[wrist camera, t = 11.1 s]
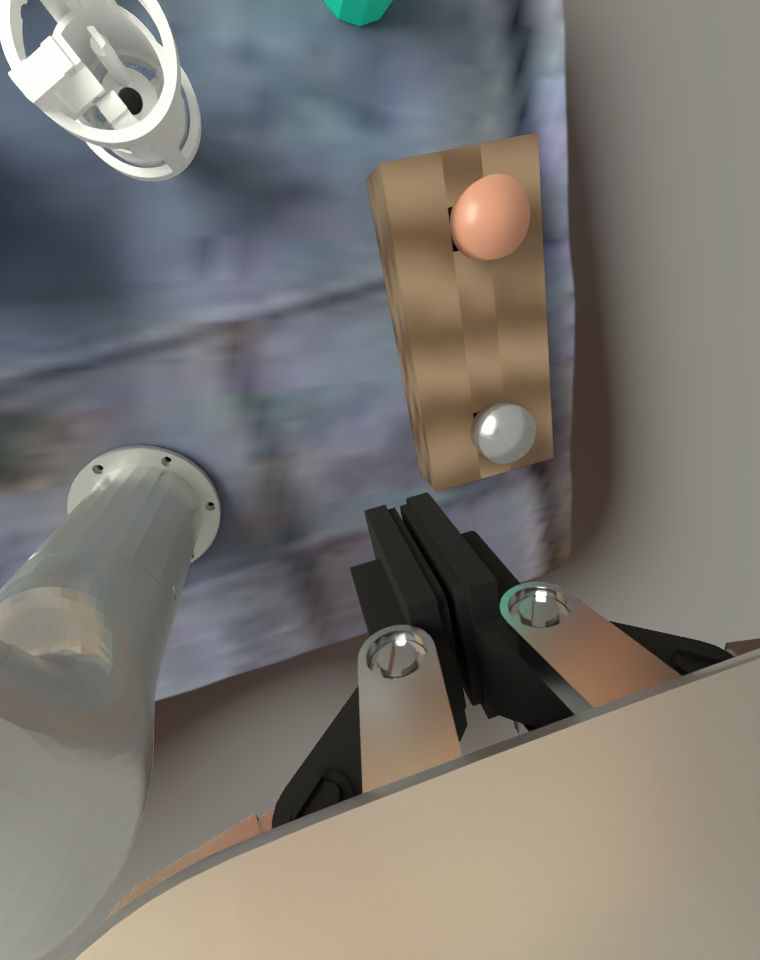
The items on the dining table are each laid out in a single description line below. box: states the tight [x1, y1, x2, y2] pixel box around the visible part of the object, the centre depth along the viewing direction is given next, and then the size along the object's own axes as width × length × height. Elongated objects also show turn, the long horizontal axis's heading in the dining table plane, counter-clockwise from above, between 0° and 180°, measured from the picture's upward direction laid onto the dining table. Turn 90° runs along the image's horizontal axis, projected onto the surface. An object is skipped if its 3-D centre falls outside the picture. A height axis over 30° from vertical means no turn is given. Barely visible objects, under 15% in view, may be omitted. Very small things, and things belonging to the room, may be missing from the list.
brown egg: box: [450, 174, 530, 261], centre depth 34 cm, size 5×5×7 cm
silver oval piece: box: [471, 401, 536, 464], centre depth 41 cm, size 5×5×7 cm
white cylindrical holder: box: [0, 0, 201, 182], centre depth 26 cm, size 7×7×15 cm
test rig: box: [366, 133, 554, 492], centre depth 40 cm, size 26×12×5 cm, turn 12°
